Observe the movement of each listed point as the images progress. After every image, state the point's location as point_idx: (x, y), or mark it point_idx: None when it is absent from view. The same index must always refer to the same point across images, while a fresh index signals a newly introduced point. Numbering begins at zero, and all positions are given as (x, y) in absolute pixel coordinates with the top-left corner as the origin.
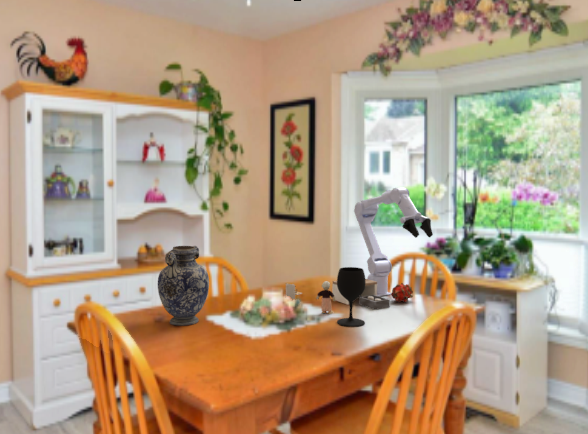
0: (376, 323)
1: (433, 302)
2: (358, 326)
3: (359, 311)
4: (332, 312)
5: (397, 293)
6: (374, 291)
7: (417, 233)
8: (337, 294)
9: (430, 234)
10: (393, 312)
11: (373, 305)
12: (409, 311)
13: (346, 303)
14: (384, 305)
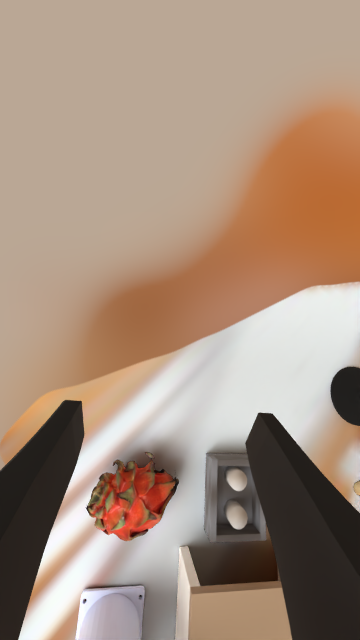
0: (315, 362)
1: None
2: (354, 367)
3: None
4: (357, 483)
5: (167, 480)
6: (194, 567)
7: (279, 424)
8: None
9: (78, 421)
10: (233, 405)
11: None
12: (196, 389)
13: None
14: (225, 455)
